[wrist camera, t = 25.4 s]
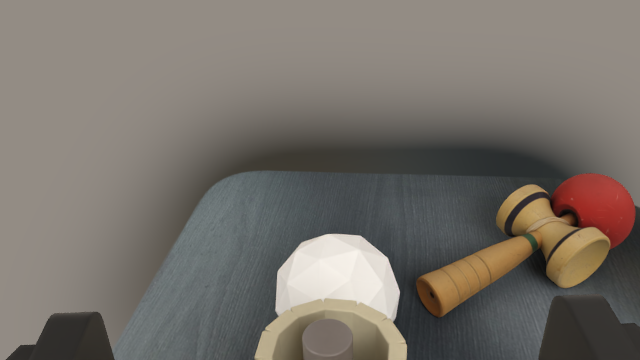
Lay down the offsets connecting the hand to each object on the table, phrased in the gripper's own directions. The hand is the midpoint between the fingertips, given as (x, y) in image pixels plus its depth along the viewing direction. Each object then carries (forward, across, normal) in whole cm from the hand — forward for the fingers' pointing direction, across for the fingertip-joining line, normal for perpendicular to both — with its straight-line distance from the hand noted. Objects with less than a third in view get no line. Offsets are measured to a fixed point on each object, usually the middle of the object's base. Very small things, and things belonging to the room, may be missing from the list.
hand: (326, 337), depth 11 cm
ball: (+21, -1, +22) cm, 30 cm away
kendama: (+26, -15, +22) cm, 38 cm away
